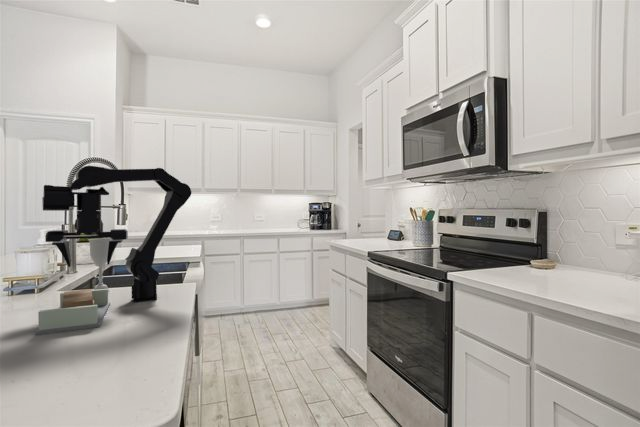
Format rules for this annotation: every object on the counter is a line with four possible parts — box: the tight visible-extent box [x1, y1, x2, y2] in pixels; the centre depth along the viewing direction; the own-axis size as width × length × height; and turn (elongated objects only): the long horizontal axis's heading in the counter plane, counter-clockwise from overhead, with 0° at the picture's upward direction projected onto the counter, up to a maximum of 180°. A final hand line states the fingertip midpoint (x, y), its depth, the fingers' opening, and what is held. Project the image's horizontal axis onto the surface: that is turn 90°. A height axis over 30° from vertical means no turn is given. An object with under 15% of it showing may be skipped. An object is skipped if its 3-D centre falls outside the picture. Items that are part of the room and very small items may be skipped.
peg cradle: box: [34, 288, 111, 336], centre depth 86 cm, size 12×20×5 cm, turn 26°
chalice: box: [87, 238, 111, 293], centre depth 114 cm, size 7×7×18 cm
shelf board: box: [62, 288, 93, 308], centre depth 86 cm, size 14×6×3 cm, turn 36°
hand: (89, 265), depth 96 cm, fingers open, 9 cm apart
